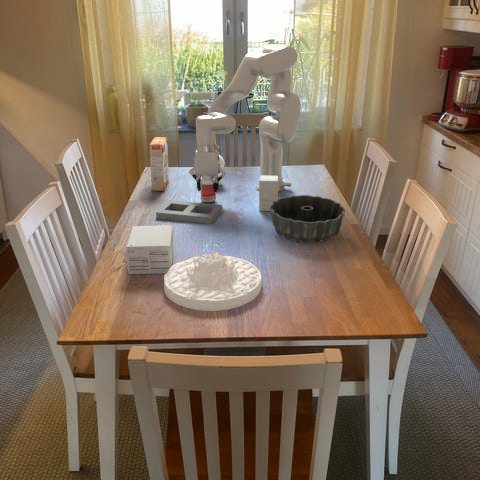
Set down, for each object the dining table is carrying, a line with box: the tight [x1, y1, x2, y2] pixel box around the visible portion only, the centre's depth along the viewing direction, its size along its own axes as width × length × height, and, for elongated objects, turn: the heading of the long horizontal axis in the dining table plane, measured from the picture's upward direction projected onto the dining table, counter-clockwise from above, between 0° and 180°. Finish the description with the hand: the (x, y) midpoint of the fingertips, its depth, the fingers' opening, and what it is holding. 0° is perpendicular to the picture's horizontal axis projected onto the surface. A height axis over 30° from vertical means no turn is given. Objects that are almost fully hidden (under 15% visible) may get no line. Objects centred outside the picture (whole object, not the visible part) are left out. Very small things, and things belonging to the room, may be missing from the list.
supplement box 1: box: [125, 224, 174, 275], centre depth 164 cm, size 17×13×9 cm
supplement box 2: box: [258, 175, 279, 212], centre depth 208 cm, size 7×7×13 cm
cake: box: [163, 251, 262, 312], centre depth 150 cm, size 28×28×10 cm
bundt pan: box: [270, 194, 346, 244], centre depth 185 cm, size 26×26×10 cm
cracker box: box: [149, 136, 170, 192], centre depth 231 cm, size 14×6×21 cm, turn 179°
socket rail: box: [155, 200, 223, 225], centre depth 203 cm, size 22×14×2 cm, turn 76°
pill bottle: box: [200, 176, 217, 203], centre depth 215 cm, size 6×6×11 cm
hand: (208, 190), depth 216 cm, fingers closed on pill bottle, 6 cm apart
